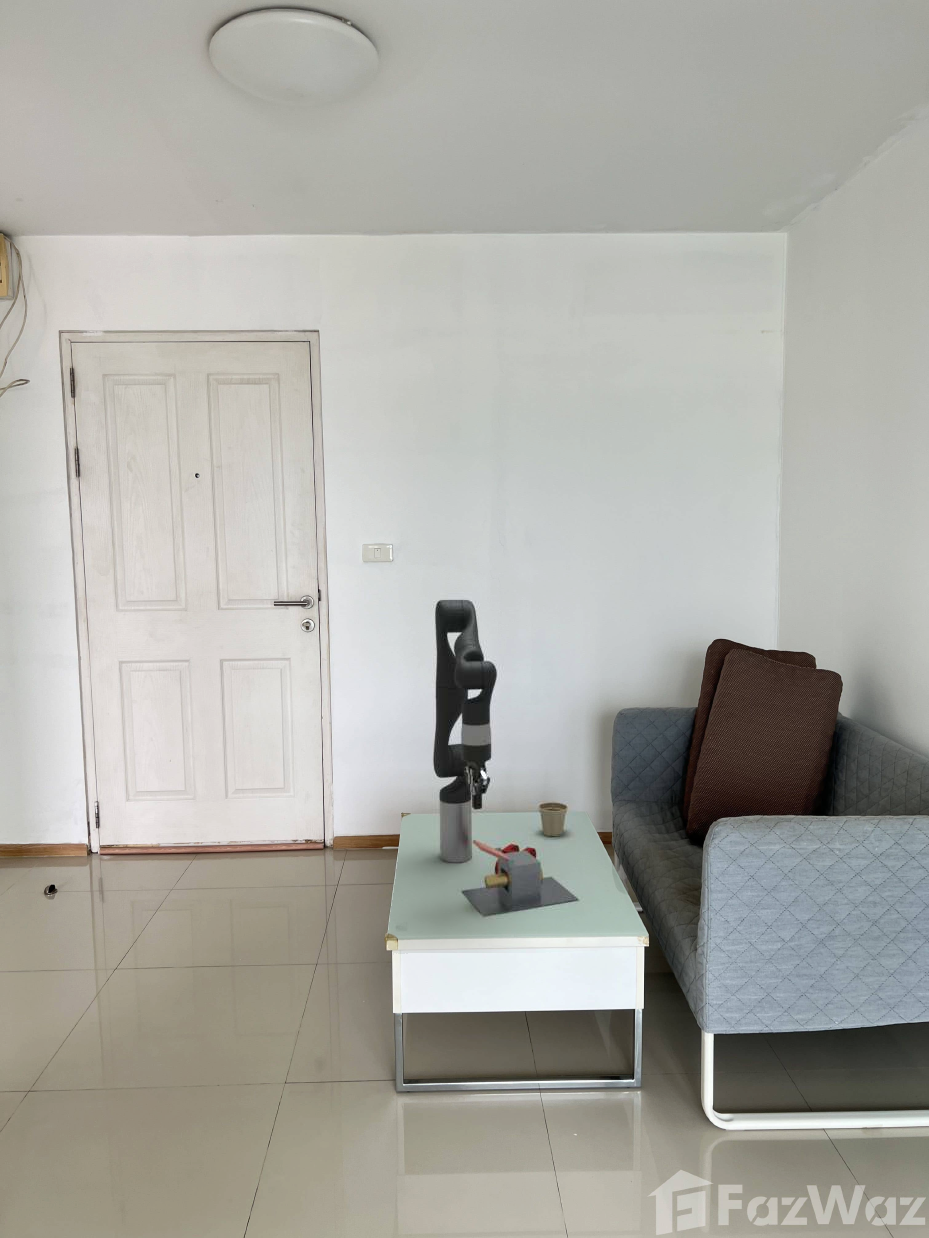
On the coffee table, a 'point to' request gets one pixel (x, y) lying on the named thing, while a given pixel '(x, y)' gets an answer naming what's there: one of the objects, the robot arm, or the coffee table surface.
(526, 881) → the latch base plate
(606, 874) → the coffee table surface
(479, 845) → the latch flap
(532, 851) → the mechanical linkage
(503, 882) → the brass pin
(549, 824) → the flower pot
